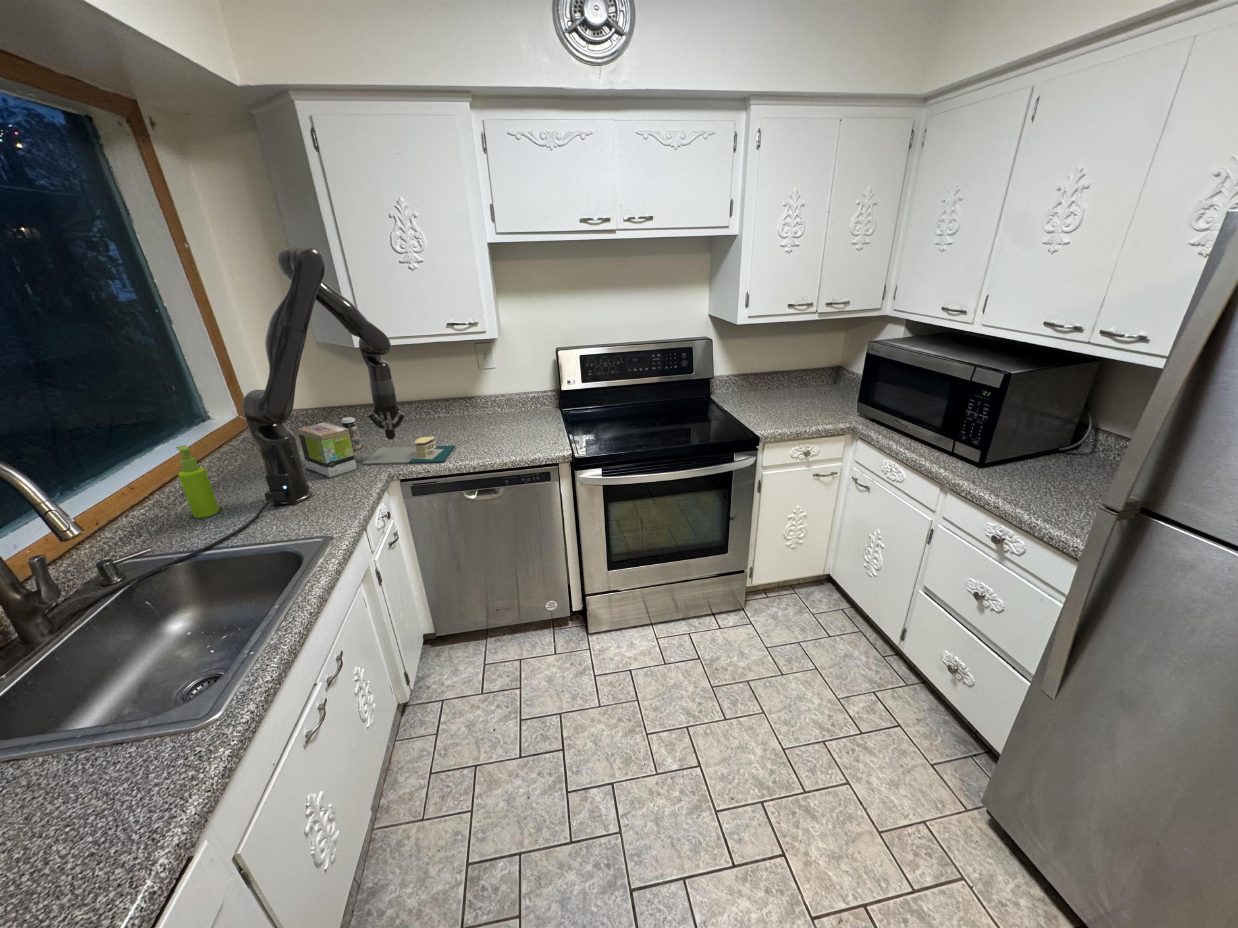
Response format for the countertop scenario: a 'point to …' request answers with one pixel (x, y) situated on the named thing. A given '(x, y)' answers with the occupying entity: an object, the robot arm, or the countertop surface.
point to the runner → (404, 456)
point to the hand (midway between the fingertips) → (391, 439)
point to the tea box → (327, 449)
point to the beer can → (352, 431)
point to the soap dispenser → (196, 486)
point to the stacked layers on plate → (425, 448)
